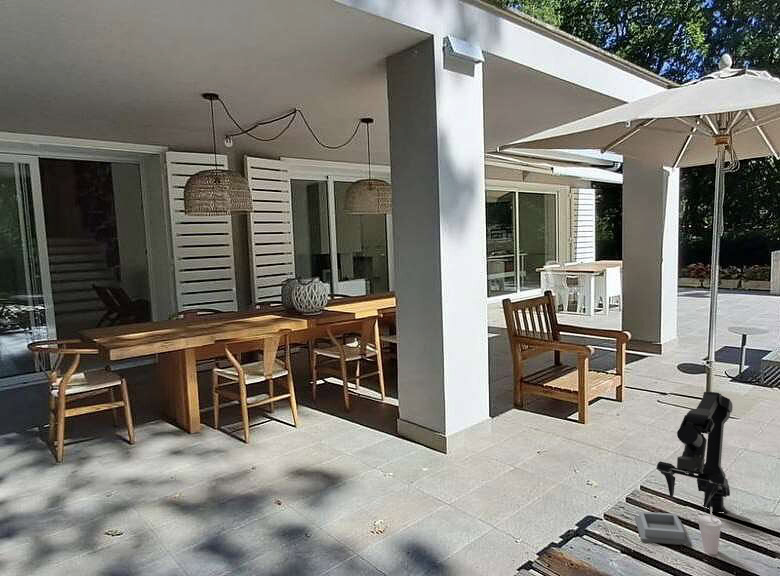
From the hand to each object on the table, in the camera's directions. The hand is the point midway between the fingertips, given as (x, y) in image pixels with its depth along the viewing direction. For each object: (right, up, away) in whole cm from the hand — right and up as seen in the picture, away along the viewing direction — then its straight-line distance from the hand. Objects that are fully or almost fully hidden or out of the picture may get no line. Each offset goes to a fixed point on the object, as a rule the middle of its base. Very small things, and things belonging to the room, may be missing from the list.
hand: (687, 502), depth 161 cm
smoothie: (+6, -15, -1) cm, 16 cm away
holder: (-2, -14, +11) cm, 18 cm away
